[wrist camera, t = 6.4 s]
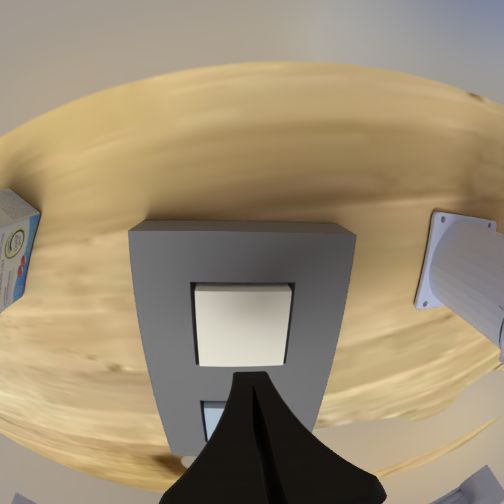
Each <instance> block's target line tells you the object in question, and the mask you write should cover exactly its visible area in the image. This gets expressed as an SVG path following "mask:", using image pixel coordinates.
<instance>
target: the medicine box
mask: <svg viewBox="0 0 504 504" xmlns="http://www.w3.org/2000/svg"><path fill="white" fill-rule="evenodd" d="M39 218H40V213H39V212H38V211H37V210H36V209H34V208H33V207H32V206H31V205H30V204H28V203H27V202H26V201H24V200H23V199H22V198H21V197H19V196H18V195H17V194H16V193H15V192H13V191H12V190H11V189H10V188H5V189H1V190H0V313H1V312H2V311H4V310H5V309H6V308H8V307H9V306H10V305H11V304H13V303H14V302H15V301H17V300H18V299H19V298H21V297H22V296H23V291H24V285H25V278H26V272H27V267H28V262H29V257H30V252H31V248H32V244H33V240H34V236H35V232H36V229H37V225H38V222H39Z"/></svg>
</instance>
